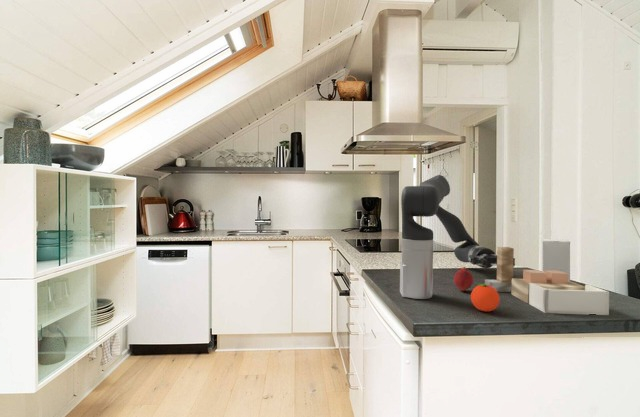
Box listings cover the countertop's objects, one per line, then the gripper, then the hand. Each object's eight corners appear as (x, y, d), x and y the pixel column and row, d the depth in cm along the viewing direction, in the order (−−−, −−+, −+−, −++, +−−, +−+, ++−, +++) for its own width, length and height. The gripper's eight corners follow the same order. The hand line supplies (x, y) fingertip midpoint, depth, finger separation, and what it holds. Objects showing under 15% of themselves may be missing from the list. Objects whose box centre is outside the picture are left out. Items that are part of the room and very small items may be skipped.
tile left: (530, 282, 104) (530, 272, 104) (523, 279, 108) (523, 269, 108) (546, 283, 103) (546, 273, 103) (538, 279, 108) (538, 270, 108)
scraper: (489, 291, 113) (490, 248, 113) (484, 288, 117) (485, 246, 117) (525, 292, 112) (526, 248, 112) (519, 289, 116) (520, 247, 116)
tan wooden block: (527, 303, 100) (528, 286, 100) (511, 294, 110) (511, 278, 110) (587, 305, 98) (587, 287, 98) (565, 295, 108) (565, 279, 108)
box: (544, 312, 91) (545, 289, 91) (529, 303, 99) (529, 282, 99) (608, 315, 90) (609, 291, 90) (587, 305, 98) (588, 284, 98)
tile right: (551, 283, 103) (552, 273, 103) (543, 280, 108) (543, 270, 108) (568, 283, 103) (568, 273, 103) (558, 280, 107) (559, 270, 107)
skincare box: (569, 283, 126) (570, 239, 126) (570, 286, 121) (571, 241, 120) (541, 280, 131) (542, 238, 130) (541, 283, 125) (542, 239, 125)
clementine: (463, 306, 97) (464, 280, 97) (487, 305, 97) (488, 280, 97) (478, 315, 89) (479, 287, 89) (505, 315, 89) (505, 287, 89)
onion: (474, 294, 109) (475, 268, 109) (455, 292, 111) (455, 267, 110) (470, 289, 115) (471, 265, 115) (452, 288, 116) (452, 264, 116)
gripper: (462, 246, 135) (478, 252, 119) (501, 247, 134) (522, 253, 118) (462, 265, 135) (477, 274, 119) (500, 266, 134) (521, 275, 118)
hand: (499, 263), depth 118 cm, fingers open, 8 cm apart
